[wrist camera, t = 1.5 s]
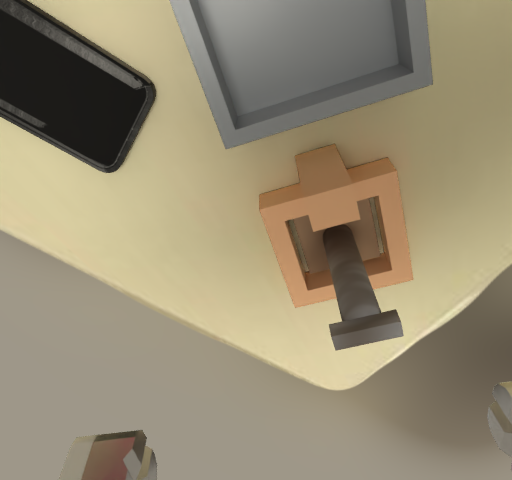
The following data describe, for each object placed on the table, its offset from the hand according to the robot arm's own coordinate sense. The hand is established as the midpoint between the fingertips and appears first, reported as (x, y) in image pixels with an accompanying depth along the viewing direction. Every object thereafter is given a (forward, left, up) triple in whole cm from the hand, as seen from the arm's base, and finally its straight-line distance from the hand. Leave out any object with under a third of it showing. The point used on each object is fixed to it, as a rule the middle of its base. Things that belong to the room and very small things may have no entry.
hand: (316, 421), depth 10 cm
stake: (-2, +10, -23) cm, 25 cm away
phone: (+15, -8, -24) cm, 29 cm away
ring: (-2, +9, -23) cm, 25 cm away
